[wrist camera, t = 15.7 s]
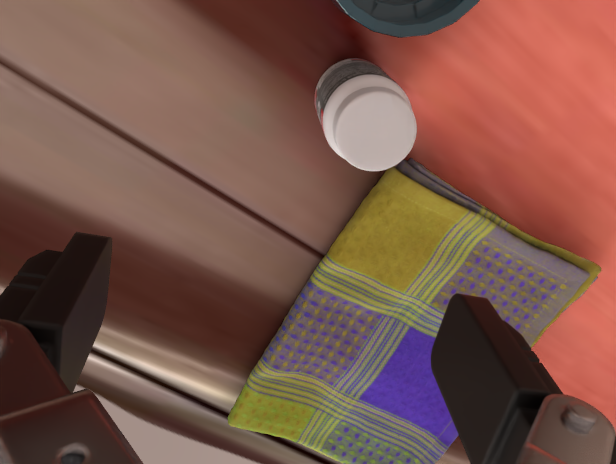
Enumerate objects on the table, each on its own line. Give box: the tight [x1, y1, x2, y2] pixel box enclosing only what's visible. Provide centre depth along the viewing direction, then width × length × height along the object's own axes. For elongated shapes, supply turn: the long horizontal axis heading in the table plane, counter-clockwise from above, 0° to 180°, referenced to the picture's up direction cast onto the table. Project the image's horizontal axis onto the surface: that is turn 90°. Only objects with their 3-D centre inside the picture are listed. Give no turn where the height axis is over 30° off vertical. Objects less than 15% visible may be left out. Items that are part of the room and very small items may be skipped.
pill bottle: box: [315, 58, 417, 171], centre depth 32 cm, size 5×5×8 cm
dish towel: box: [228, 158, 601, 464], centre depth 42 cm, size 18×24×3 cm
